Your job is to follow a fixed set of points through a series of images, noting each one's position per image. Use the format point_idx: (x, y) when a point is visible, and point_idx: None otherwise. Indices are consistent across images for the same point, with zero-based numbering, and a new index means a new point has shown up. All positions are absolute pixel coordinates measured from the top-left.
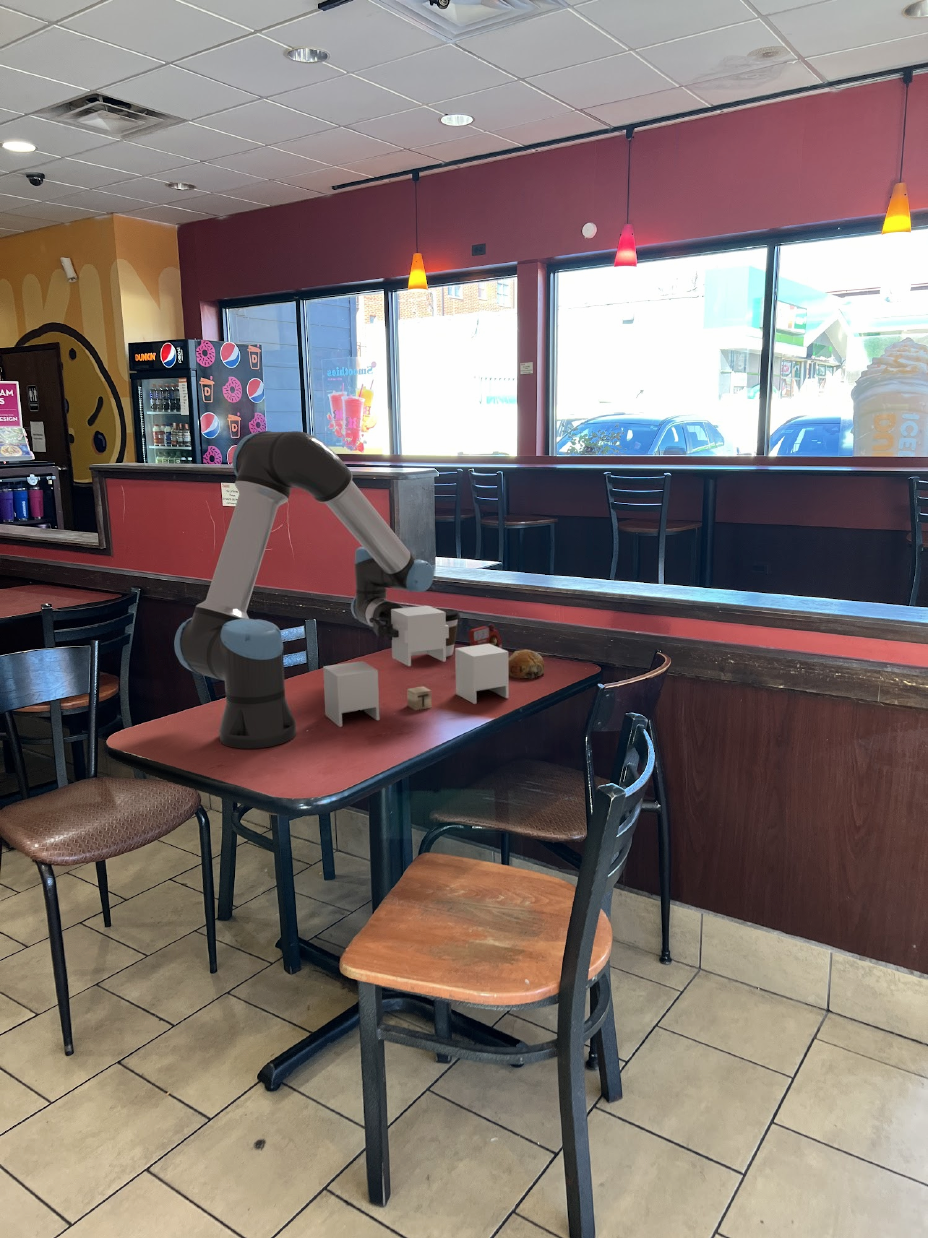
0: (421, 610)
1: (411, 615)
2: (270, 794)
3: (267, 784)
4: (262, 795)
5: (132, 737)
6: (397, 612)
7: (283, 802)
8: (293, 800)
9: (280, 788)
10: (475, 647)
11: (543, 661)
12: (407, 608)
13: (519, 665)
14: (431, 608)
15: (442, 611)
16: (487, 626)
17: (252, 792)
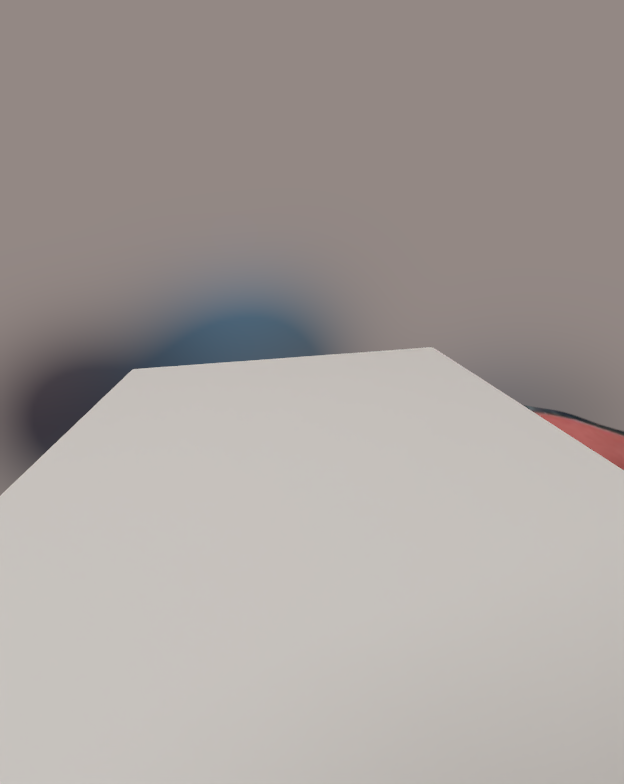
0: (261, 436)
1: (404, 351)
2: (582, 423)
3: (607, 440)
4: (592, 423)
5: None
6: (576, 448)
7: (553, 410)
8: (543, 410)
9: (578, 430)
10: None
11: None
12: (454, 640)
13: None
14: (51, 497)
15: (125, 383)
16: None
17: (613, 430)
